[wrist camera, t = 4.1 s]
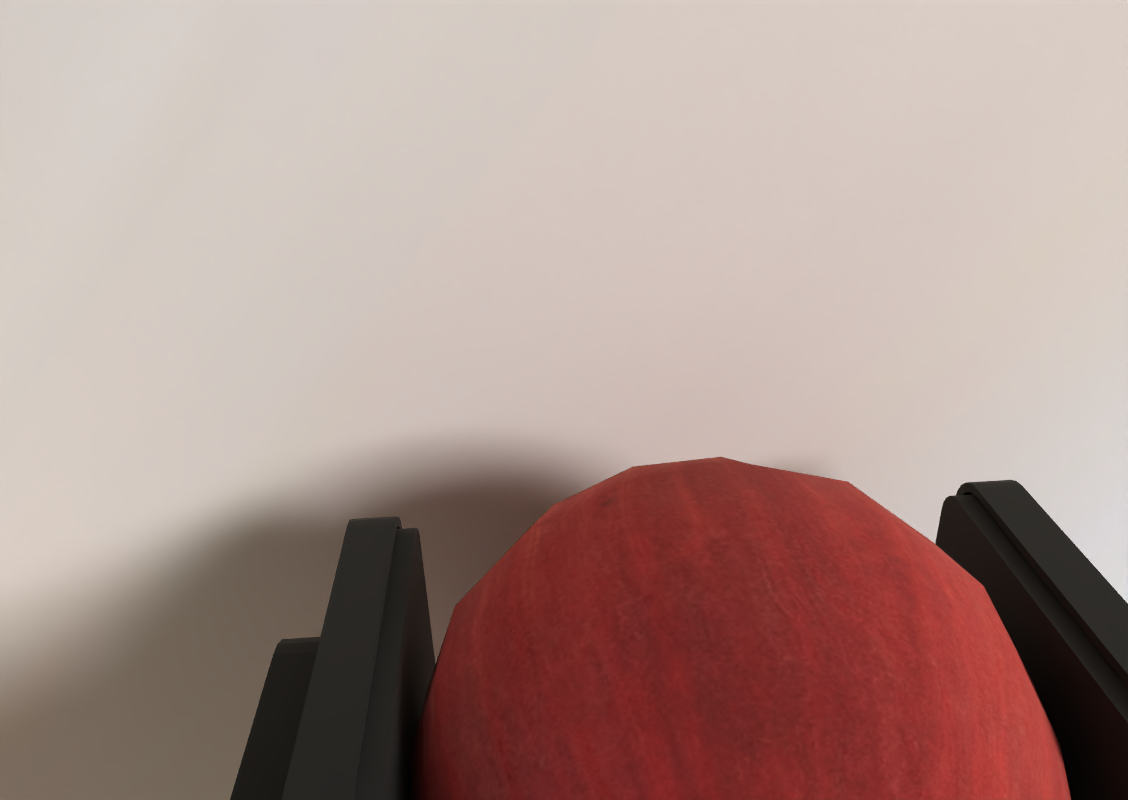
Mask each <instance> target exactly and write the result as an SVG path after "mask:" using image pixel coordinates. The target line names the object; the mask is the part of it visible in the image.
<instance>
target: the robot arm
mask: <svg viewBox="0 0 1128 800" xmlns="http://www.w3.org/2000/svg"><path fill="white" fill-rule="evenodd" d="M936 545H937V546H938V547H939V548H940V549H941V550H943V551H944V552H945V553H946V554H947V555H948V556H950V557H951V558H952V559H953V560H954V561H955V562H956V563H958V564H959V565H960V566H961V567H962V568H963V569H965V570H966V571H967V572H968V573H969V574H970V575H972V576H973V577H974V578H975V579H976V580H977V581H978V582H980V583H981V584H982V585H983V586H984V588H985V590H986V592H987V594H988V596H989V597H990V599H991V601H992V603H993V605H994V607H995V609H996V611H997V613H998V615H999V617H1000V619H1001V621H1002V623H1003V625H1004V627H1005V629H1006V630H1007V632H1008V634H1009V636H1010V638H1011V640H1012V642H1013V644H1014V646H1015V648H1016V650H1017V652H1018V654H1019V656H1020V658H1021V660H1022V662H1023V663H1024V665H1025V667H1026V669H1027V671H1028V673H1029V675H1030V677H1031V679H1032V681H1033V684H1034V686H1035V688H1036V691H1037V693H1038V695H1039V698H1040V700H1041V702H1042V705H1043V707H1044V709H1045V712H1046V714H1047V716H1048V719H1049V721H1050V723H1051V725H1052V728H1053V730H1054V732H1055V735H1056V737H1057V739H1058V742H1059V744H1060V747H1061V752H1062V757H1063V762H1064V767H1065V772H1066V777H1067V782H1068V786H1069V791H1070V796H1071V800H1128V604H1127V602H1126V601H1125V600H1124V599H1123V598H1122V597H1121V596H1120V595H1119V594H1118V592H1117V591H1116V590H1115V589H1114V588H1113V587H1112V586H1111V585H1110V583H1109V582H1108V581H1107V580H1106V579H1105V578H1104V577H1103V576H1102V575H1101V573H1100V572H1099V571H1098V570H1097V569H1096V568H1095V567H1094V566H1093V564H1092V563H1091V562H1090V561H1089V560H1088V559H1087V558H1086V557H1085V556H1084V554H1083V553H1082V552H1081V551H1080V550H1079V549H1078V548H1077V547H1076V545H1075V544H1074V543H1073V542H1072V541H1071V540H1070V539H1069V538H1068V537H1067V535H1066V534H1065V533H1064V532H1063V531H1062V530H1061V529H1060V528H1059V526H1058V525H1057V524H1056V523H1055V522H1054V521H1053V520H1052V519H1051V518H1050V516H1049V515H1048V514H1047V513H1046V512H1045V511H1044V510H1043V509H1042V507H1041V506H1040V505H1039V504H1038V503H1037V502H1036V501H1035V500H1034V499H1033V497H1032V496H1031V495H1030V494H1029V493H1028V492H1027V491H1026V490H1025V488H1024V487H1023V486H1022V485H1021V484H1019V483H1018V482H1017V481H1013V480H1003V481H986V482H969V483H964V484H963V485H961V486H960V488H959V489H958V491H957V494H956V496H949V497H947V498H946V499H945V501H944V503H943V506H942V511H941V516H940V522H939V527H938V533H937V538H936ZM434 668H435V658H434V650H433V642H432V634H431V625H430V617H429V609H428V601H427V593H426V584H425V576H424V568H423V560H422V552H421V543H420V536H419V531H418V529H417V528H409V529H402V526H401V522H400V519H399V517H382V518H365V519H351V520H350V521H349V523H348V525H347V529H346V533H345V538H344V542H343V546H342V550H341V554H340V558H339V563H338V567H337V571H336V575H335V579H334V583H333V588H332V592H331V596H330V600H329V604H328V608H327V613H326V617H325V621H324V625H323V629H322V633H321V637H313V638H297V639H282V640H281V641H280V642H279V643H278V644H277V647H276V649H275V652H274V654H273V657H272V661H271V664H270V668H269V671H268V674H267V678H266V681H265V684H264V688H263V691H262V694H261V698H260V701H259V705H258V708H257V711H256V715H255V718H254V721H253V725H252V728H251V731H250V735H249V738H248V742H247V745H246V748H245V752H244V755H243V758H242V762H241V765H240V768H239V772H238V775H237V779H236V782H235V785H234V789H233V792H232V795H231V799H230V800H410V797H409V791H410V756H411V752H412V747H413V743H414V738H415V734H416V730H417V727H418V723H419V719H420V715H421V711H422V707H423V704H424V700H425V696H426V692H427V689H428V686H429V683H430V680H431V677H432V674H433V671H434Z"/></svg>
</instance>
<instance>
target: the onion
mask: <svg viewBox="0 0 1128 800" xmlns="http://www.w3.org/2000/svg"><path fill="white" fill-rule="evenodd" d="M409 797H410V800H1071V796H1070V791H1069V786H1068V782H1067V777H1066V772H1065V767H1064V762H1063V757H1062V752H1061V747H1060V744H1059V742H1058V739H1057V737H1056V735H1055V732H1054V730H1053V728H1052V725H1051V723H1050V721H1049V719H1048V716H1047V714H1046V712H1045V709H1044V707H1043V705H1042V702H1041V700H1040V698H1039V695H1038V693H1037V691H1036V688H1035V686H1034V684H1033V681H1032V679H1031V677H1030V675H1029V673H1028V671H1027V669H1026V667H1025V665H1024V663H1023V662H1022V660H1021V658H1020V656H1019V654H1018V652H1017V650H1016V648H1015V646H1014V644H1013V642H1012V640H1011V638H1010V636H1009V634H1008V632H1007V630H1006V629H1005V627H1004V625H1003V623H1002V621H1001V619H1000V617H999V615H998V613H997V611H996V609H995V607H994V605H993V603H992V601H991V599H990V597H989V596H988V594H987V592H986V590H985V588H984V586H983V585H982V584H981V583H980V582H978V581H977V580H976V579H975V578H974V577H973V576H972V575H970V574H969V573H968V572H967V571H966V570H965V569H963V568H962V567H961V566H960V565H959V564H958V563H956V562H955V561H954V560H953V559H952V558H951V557H950V556H948V555H947V554H946V553H945V552H944V551H943V550H941V549H940V548H939V547H938V546H937V545H936V544H934V543H933V542H932V541H930V540H929V539H928V538H926V537H925V536H923V535H922V534H921V533H919V532H918V531H916V530H915V529H914V528H912V527H911V526H909V525H908V524H907V523H905V522H904V521H902V520H901V519H899V518H898V517H897V516H895V515H894V514H892V513H891V512H890V511H888V510H887V509H885V508H884V507H883V506H881V505H880V504H878V503H877V502H876V501H874V500H873V499H871V498H870V497H869V496H867V495H866V494H864V493H863V492H862V491H860V490H859V489H857V488H856V487H854V486H853V485H852V484H850V483H849V482H846V481H841V480H835V479H830V478H824V477H818V476H813V475H807V474H802V473H796V472H790V471H785V470H779V469H774V468H768V467H763V466H757V465H751V464H747V463H743V462H739V461H735V460H731V459H727V458H723V457H716V458H707V459H698V460H689V461H680V462H671V463H662V464H653V465H644V466H635V467H631V468H629V469H627V470H625V471H623V472H621V473H619V474H617V475H615V476H613V477H611V478H608V479H606V480H604V481H602V482H600V483H598V484H596V485H594V486H592V487H590V488H588V489H586V490H583V491H581V492H579V493H577V494H575V495H573V496H571V497H569V498H567V499H565V500H563V501H561V502H558V503H556V504H554V505H553V506H552V507H551V508H550V509H549V510H548V511H547V512H546V513H545V514H544V515H543V516H542V517H541V518H540V519H539V520H538V521H537V522H536V523H535V524H534V525H533V526H532V527H531V528H530V529H529V530H527V532H526V533H525V534H524V535H523V536H522V537H521V538H520V539H519V540H518V541H517V542H516V543H515V544H514V545H513V546H512V547H511V548H510V549H509V550H508V551H507V552H506V553H505V555H504V556H503V557H502V558H501V559H500V560H499V561H498V562H497V563H496V564H495V565H494V566H493V567H492V568H491V569H490V570H489V571H488V572H487V573H486V574H485V575H484V576H483V578H482V579H481V580H480V581H479V582H478V583H477V584H476V585H475V586H474V587H473V588H472V589H471V590H470V591H469V592H468V593H467V594H466V595H465V596H464V597H463V599H462V600H461V601H460V602H459V603H458V604H457V605H456V606H455V608H454V611H453V614H452V617H451V620H450V623H449V626H448V629H447V632H446V635H445V638H444V641H443V644H442V647H441V650H440V653H439V656H438V659H437V662H436V665H435V668H434V671H433V674H432V677H431V680H430V683H429V686H428V689H427V692H426V696H425V700H424V704H423V707H422V711H421V715H420V719H419V723H418V727H417V730H416V734H415V738H414V743H413V747H412V752H411V756H410V791H409Z"/></svg>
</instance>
